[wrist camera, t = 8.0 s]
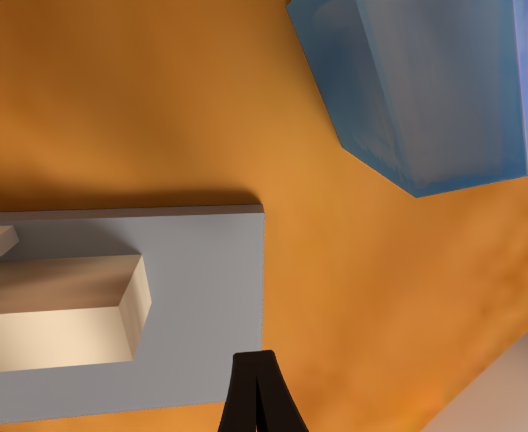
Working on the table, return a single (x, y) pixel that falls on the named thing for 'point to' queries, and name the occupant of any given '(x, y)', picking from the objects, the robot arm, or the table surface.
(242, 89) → the table surface
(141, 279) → the slat
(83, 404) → the board
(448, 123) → the perfume bottle
